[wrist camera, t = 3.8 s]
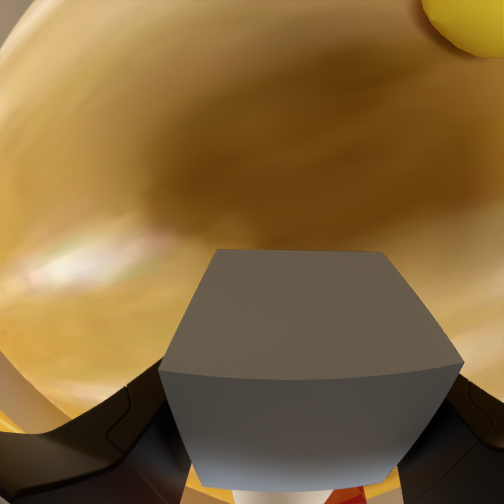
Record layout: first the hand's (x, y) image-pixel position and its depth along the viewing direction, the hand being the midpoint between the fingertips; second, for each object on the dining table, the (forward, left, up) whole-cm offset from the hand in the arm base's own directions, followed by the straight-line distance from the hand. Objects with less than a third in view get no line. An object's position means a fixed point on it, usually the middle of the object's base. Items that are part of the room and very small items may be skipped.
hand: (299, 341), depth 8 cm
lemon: (+2, -16, -6) cm, 17 cm away
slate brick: (0, 0, -1) cm, 1 cm away
